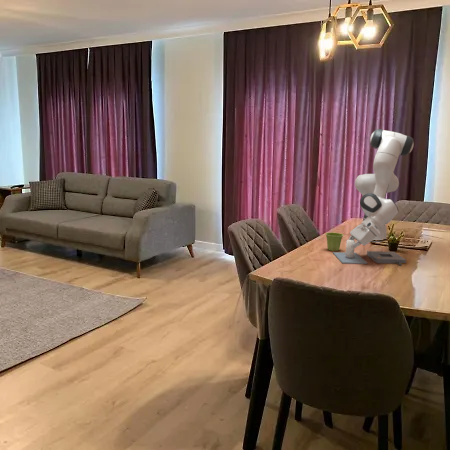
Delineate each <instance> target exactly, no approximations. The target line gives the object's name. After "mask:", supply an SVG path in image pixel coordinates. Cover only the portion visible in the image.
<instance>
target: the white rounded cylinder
mask: <svg viewBox="0 0 450 450" xmlns="http://www.w3.org/2000/svg"><path fill="white" fill-rule="evenodd" d="M346 241H347V242H346ZM346 241H345V243H346V245H345V253H346V254H345V258H351V259H352V258H354V257H355V255H354V253H355V249H352V248H351V245H352V244H354V243H356V240H355V239H354V240H348V239H347V240H346Z"/></svg>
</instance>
